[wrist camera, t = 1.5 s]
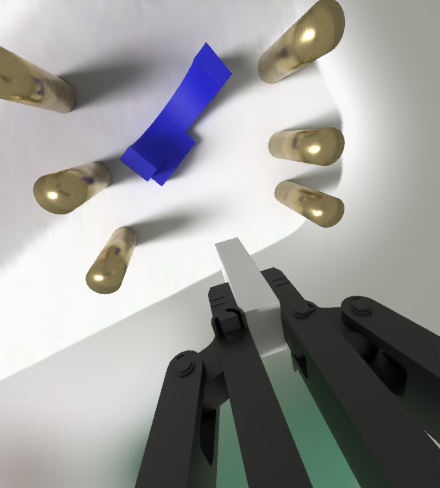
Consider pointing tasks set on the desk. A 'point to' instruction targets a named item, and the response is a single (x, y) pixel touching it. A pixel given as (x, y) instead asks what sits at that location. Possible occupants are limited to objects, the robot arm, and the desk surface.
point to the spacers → (280, 145)
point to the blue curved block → (177, 120)
